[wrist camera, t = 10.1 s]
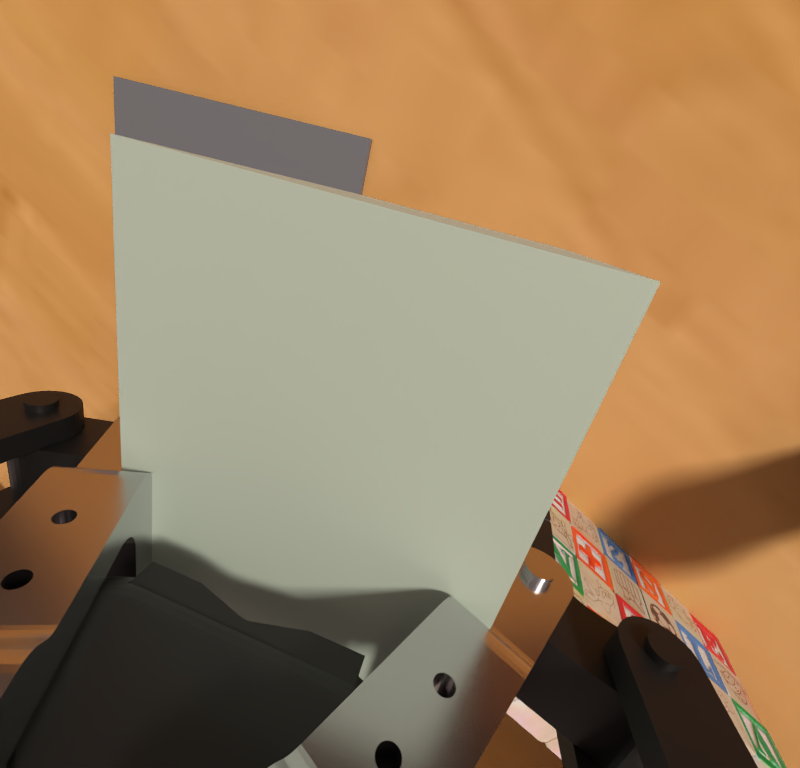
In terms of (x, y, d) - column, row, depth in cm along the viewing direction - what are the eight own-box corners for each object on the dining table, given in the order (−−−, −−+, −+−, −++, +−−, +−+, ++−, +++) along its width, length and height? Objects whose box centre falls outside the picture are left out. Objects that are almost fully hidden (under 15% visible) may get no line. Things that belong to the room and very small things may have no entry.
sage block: (565, 249, 11) (660, 282, 4) (441, 570, 16) (377, 860, 8) (357, 193, 12) (109, 132, 5) (299, 513, 17) (130, 731, 9)
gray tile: (322, 404, 32) (320, 406, 31) (123, 334, 34) (120, 335, 34) (372, 139, 24) (370, 138, 24) (117, 77, 27) (113, 75, 27)
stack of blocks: (720, 635, 30) (845, 879, 18) (644, 668, 32) (713, 899, 21) (503, 436, 29) (496, 564, 18) (443, 486, 31) (403, 626, 20)
